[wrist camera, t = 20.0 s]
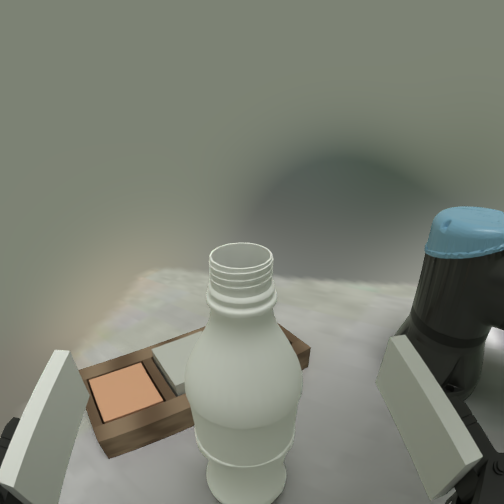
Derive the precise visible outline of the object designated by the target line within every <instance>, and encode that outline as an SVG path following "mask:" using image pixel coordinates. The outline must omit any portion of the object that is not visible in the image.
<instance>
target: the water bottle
mask: <svg viewBox="0 0 504 504" xmlns="http://www.w3.org/2000/svg"><path fill="white" fill-rule="evenodd" d="M209 272H210V275H209V277H210V281H209V284H208V290H207V293H206V302H207V305H208V306H209V308H210V309H211V311H210V317H209V320H208V323H207V325H206V327H205V329H204V330H203V332H202V334H201V335H200V337H199V339H198V341H197V342H196V344H195V346H194V348H193V350H192V352H191V354H190V356H189V359H188V362H187V366H186V370H185V393H186V397H187V399H188V401H189V403H190V407H191V411H192V416H193V420H194V425H195V437H196V441H197V445H198V448H199V450H200V452H201V453H202V454H203V455H204V456H205V457H206V458H207V459H209V461H208V464H207V470H206V478H207V483H208V486H209V488H210V490H211V492H212V494H213V495H214V497H215V498H216V499H217V500H218V501H219V502H220V503H222V504H271V503H272V502H273V501H274V500H275V499H276V498H277V497H278V496H279V495H280V494H281V493H282V491H283V488H284V485H285V482H286V477H287V472H286V468H285V465H284V459H285V456H286V454H287V452H288V451H289V450H290V448H291V447H292V445H293V442H294V436H295V420H296V414H297V407H298V402H299V399H300V397H301V394H302V387H303V377H302V370H301V366H300V363H299V360H298V357H297V355H296V353H295V351H294V350H293V348H292V346H291V344H290V342H289V340H288V339H287V337H286V336H285V334H284V333H283V331H282V330H281V328H280V327H279V325H278V323H277V321H276V318H275V316H274V312H273V307H274V306H275V304H276V302H277V292H276V290H275V283H274V281H273V279H272V275H273V255H272V253H271V252H270V250H269V249H268V248H265V247H263V246H261V245H256V244H252V243H232V244H226V245H223V246H219V247H217V248H216V249H214V250H212V251H211V254H210V255H209Z"/></svg>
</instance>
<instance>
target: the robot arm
mask: <svg viewBox="0 0 504 504" xmlns="http://www.w3.org/2000/svg"><path fill="white" fill-rule="evenodd" d="M491 327H495V328H498V329H502V330H504V213H503V212H502V211H498V210H494V209H488V208H481V207H467V206H465V207H453V208H448V209H445V210H443V211H441V212H440V213H438V214H437V215H436V216H435V218H434V220H433V223H432V226H431V230H430V234H429V238H428V242H427V243H426V245H425V257H424V262H423V267H422V271H421V275H420V279H419V283H418V287H417V291H416V294H415V298H414V301H413V305H412V309H411V312H410V315H409V316H408V317H407V319H406V320H405V322H404V323H403V324H402V326H401V327H400V328H399V330H398V331H397V332H396V334H395V335H394V336H393V337H390V338H389V341H388V345H387V348H386V351H385V355H384V358H383V361H382V364H381V367H380V370H379V373H378V376H377V379H376V382H375V383H376V385H377V387H378V389H379V391H380V393H381V395H382V397H383V399H384V401H385V403H386V405H387V407H388V409H389V411H390V413H391V416H392V418H393V420H394V422H395V424H396V426H397V428H398V430H399V432H400V435H401V437H402V439H403V441H404V443H405V445H406V447H407V450H408V452H409V454H410V456H411V458H412V461H413V463H414V465H415V467H416V470H417V472H418V474H419V476H420V479H421V481H422V483H423V485H424V488H425V490H426V492H427V495H428V497H429V499H430V501H431V500H433V499H436V498H438V497H440V496H443V495H445V494H447V493H448V492H449V491H450V490H451V489H452V488H453V487H455V490H456V492H455V493H454V494H453V495H452V496H451V497H450V498H449V499H447V501H446V503H445V504H449V503H450V502H451V501H452V502H451V504H504V453H498V452H497V451H496V450H495V449H494V447H493V446H492V444H491V442H490V441H489V439H488V438H487V436H486V434H485V433H484V431H483V429H482V428H481V426H480V425H479V423H477V420H476V418H475V417H474V415H472V412H471V411H470V409H469V408H468V406H467V405H466V403H465V402H463V401H464V400H465V399H466V398H467V397H468V396H469V395H470V394H471V393H472V391H473V389H474V388H475V386H476V384H477V382H478V380H479V378H480V375H481V369H482V363H483V355H484V347H485V341H486V338H487V336H488V334H489V331H490V329H491ZM89 396H90V395H89V393H88V391H87V388H86V386H85V384H84V382H83V380H82V378H81V375H80V373H79V371H78V369H77V366H76V364H75V362H74V359H73V357H72V355H71V352H70V351H64V350H55V351H54V353H53V354H52V356H51V358H50V360H49V362H48V364H47V366H46V368H45V369H44V371H43V373H42V375H41V377H40V379H39V381H38V383H37V385H36V387H35V389H34V391H33V393H32V395H31V397H30V400H29V402H28V404H27V406H26V408H25V410H24V412H23V415H22V417H21V419H19V418H15V417H13V418H12V419H11V421H10V422H9V423H8V424H7V425H6V426H5V428H4V430H3V433H2V435H1V438H0V504H58V502H59V497H60V493H61V489H62V485H63V482H64V478H65V474H66V470H67V467H68V463H69V459H70V456H71V453H72V449H73V446H74V442H75V439H76V436H77V433H78V429H79V426H80V423H81V420H82V417H83V414H84V411H85V408H86V405H87V402H88V399H89Z"/></svg>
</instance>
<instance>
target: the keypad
mask: <svg viewBox="0 0 504 504" xmlns="http://www.w3.org/2000/svg"><path fill="white" fill-rule="evenodd" d="M278 325H279V327H280V328H281V330H282V331H283V333H284V334H285V336H286V337H287V339H288V340H289V342H290V344H291V346H292V348H293V350H294V351H295V353H296V355H297V357H298V360H299V363H300V366H301V370H303V369H305V368H306V367H308V363H309V356H310V349H311V347H309V346H308V345H307V344H305V343H304V342H303V341H301V340H300V339H298V338H297V337H296V336H294V335H293V334H292V333H290V332H289V331H288V330H286V329H285V328H284V327H282V326H281V325H280V324H278ZM205 327H206V326H205ZM205 327H202V328H200V329H197V330H194V331H192V332H189V333H186V334H183V335H181V336H178V337H175V338H172V339H170V340H167V341H164V342H161V343H158V344H156V345H153V346H150V347H147V348H144V349H141V350H138V351H135V352H132V353H130V354H127V355H124V356H121V357H118V358H115V359H112V360H109V361H106V362H103V363H99V364H96V365H93V366H90V367H87V368H84V369H81V370H78V371H79V373H80V375H81V378H82V380H83V382H84V384H85V386H86V388H87V391H88V393H89V395H90V396H89V399H88V402H87V405H86V410H87V413H88V416H89V419H90V421H91V424H92V427H93V430H94V432H95V435H96V438H97V440H98V443H99V444H100V446H101V447H102V449H103V450H104V452H105V454H106V455H107V457H108V458H109V459H110V458H113V457H116V456H118V455H121V454H124V453H127V452H130V451H132V450H135V449H138V448H140V447H143V446H146V445H148V444H151V443H153V442H156V441H158V440H161V439H163V438H166V437H168V436H171V435H173V434H175V433H178V432H180V431H182V430H185V429H187V428H189V427H192V426H194V420H193V416H192V411H191V407H190V403H189V401H188V399H187V397H186V393H185V394H183V395H180V396H178V397H176V396H175V394H174V393H173V392H172V390H171V389H170V387H169V386H168V384H167V382H166V381H165V379H164V378H163V376H162V375H161V373H160V372H159V370H158V369H157V367H156V365H155V362H154V358H153V354H152V350H151V349H153V348H156V347H159V346H162V345H164V344H167V343H170V342H173V341H176V340H178V339H181V338H184V337H186V336H189V335H192V334H194V333H197V332H200V331H202V332H203V330H204V329H205ZM138 363H141V364H142V366H143V368H144V369H145V371H146V373H147V374H148V376H149V378H150V380H151V381H152V383H153V385H154V386H155V388H156V390H157V391H158V393H159V394H160V396H161V398H162V399H163V403H160V404H158V405H155V406H153V407H150V408H148V409H145V410H142V411H140V412H137V413H134V414H131V415H129V416H126V417H123V418H120V419H117V420H115V421H112V422H109V423H106V424H105V422H104V420H103V417H102V415H101V412H100V410H99V407H98V404H97V402H96V399H95V396H94V393H93V391H92V388H91V385H90V382H89V380H91V379H94V378H97V377H100V376H103V375H106V374H109V373H112V372H115V371H118V370H121V369H124V368H127V367H129V366H132V365H135V364H138Z"/></svg>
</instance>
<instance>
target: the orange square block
mask: <svg viewBox="0 0 504 504" xmlns="http://www.w3.org/2000/svg"><path fill="white" fill-rule="evenodd" d="M89 382H90V385H91V388H92V391H93V393H94V396H95V399H96V402H97V404H98V407H99V410H100V412H101V415H102V417H103V420H104V422H105V424H106V423H109V422H112V421H115V420H117V419H120V418H123V417H126V416H129V415H131V414H134V413H137V412H140V411H142V410H145V409H148V408H150V407H153V406H155V405H158V404H160V403H163V399H162V398H161V396H160V394H159V393H158V391H157V390H156V388H155V386H154V385H153V383H152V381H151V380H150V378H149V376H148V374H147V373H146V371H145V369H144V368H143V366H142V364H141V363H138V364H135V365H132V366H129V367H127V368H124V369H121V370H118V371H115V372H112V373H109V374H106V375H103V376H100V377H97V378H94V379H91V380H89Z"/></svg>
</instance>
